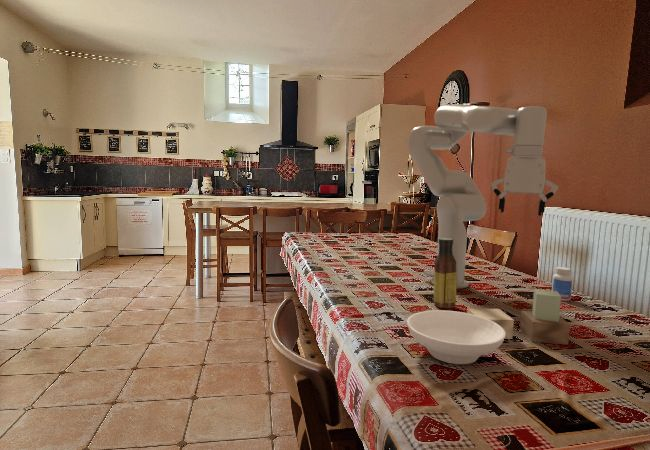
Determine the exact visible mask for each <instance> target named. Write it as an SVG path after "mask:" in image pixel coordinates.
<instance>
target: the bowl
mask: <svg viewBox="0 0 650 450" xmlns="http://www.w3.org/2000/svg"><path fill="white" fill-rule="evenodd" d="M406 325H407V328H408V331H409V333H410V335H411V336H412V338H413V339H414V340H415V341H416V342H417V343H418V344H419V345H420V346H424V348H426V349H427V351H428V352H429V354H430V355H431V356H432V357H433V358H435V359H437V360H439V361H442V362H445V363H448V364H454V365H467V364H472V363H475V362H476V361H477V360H478V359H479V358H480V357H482V356H485V355H490V354H491V353H493V352H495V351H496V350H497V349H499V348H500V346H501V345H503V343H504V341H505V340H504V339H505V335H506V333H505V330H504V329H503V328H502V327H501V326H499V325H498V324H497V323H495V322H493V321H491V320H488V319H486V318H483V317H480V316H477V315H473V314H468V313H467V312H462V311H455V310H454V311H453V310H441V309H439V310H437V309H436V310H435V309H433V310H423V311H420V312H416V313H413V314H411V315H410V316H409V317H408V318H407V319H406Z"/></svg>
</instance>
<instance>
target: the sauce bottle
mask: <svg viewBox="0 0 650 450" xmlns="http://www.w3.org/2000/svg"><path fill="white" fill-rule="evenodd" d="M438 243H439V254H438V256H437V255H436V258H435V259H434V269H433V270H434V284H433V305H434V306H435V307H436V308H440V309H447V310H449V309H453V308H455V307H456V302H457V289H456V274H457V271H456V260H455V258H454V256H453V254H452V253H453V252H452V247H453V239H452V238H439V242H438V241H437V244H438Z"/></svg>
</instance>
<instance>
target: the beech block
mask: <svg viewBox="0 0 650 450" xmlns="http://www.w3.org/2000/svg"><path fill="white" fill-rule="evenodd" d="M466 313H468V314H473V315H477V316H480V317H483V318H486V319H488V320H491V321H493V322H495V323H497V324H498V325H499V326H501V327H502V328H503V329H504V330H505V333H506V335H505V339H512V340H513V334H514V325H515V323H514V322H515V319H513V318H512V317H511V316H510V315H508V314H507V313H505V312H504V311H503V310H502V309H500V308H482V307H481V308H479V307H477V308H476V307H474V308H473V307H470V308H469V307H467V310H466Z"/></svg>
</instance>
